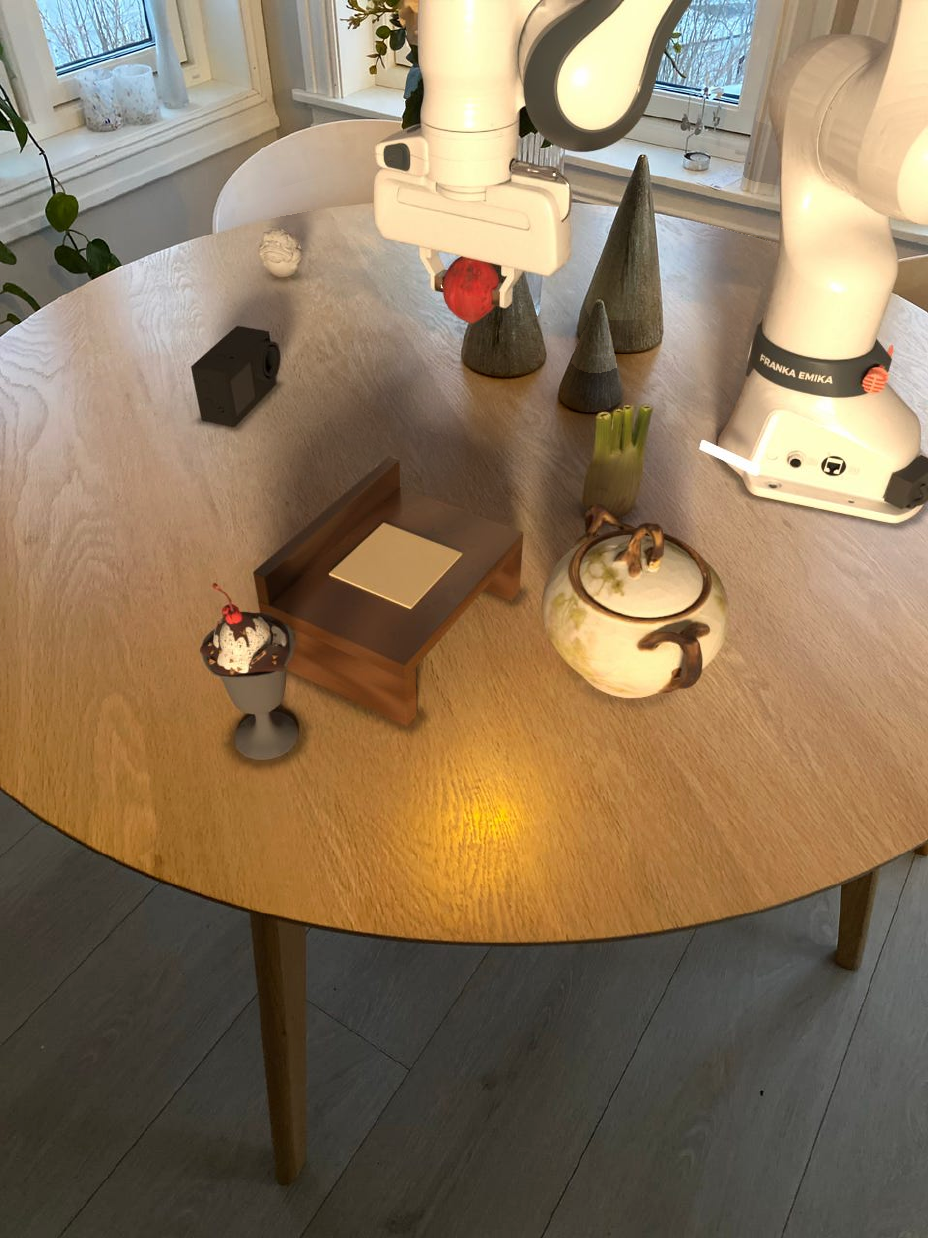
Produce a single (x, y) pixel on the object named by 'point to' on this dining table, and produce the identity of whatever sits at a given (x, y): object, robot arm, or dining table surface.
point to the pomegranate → (469, 288)
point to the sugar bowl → (634, 608)
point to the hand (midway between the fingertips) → (470, 297)
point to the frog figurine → (280, 252)
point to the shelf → (383, 587)
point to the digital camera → (235, 375)
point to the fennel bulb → (617, 460)
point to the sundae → (254, 677)
